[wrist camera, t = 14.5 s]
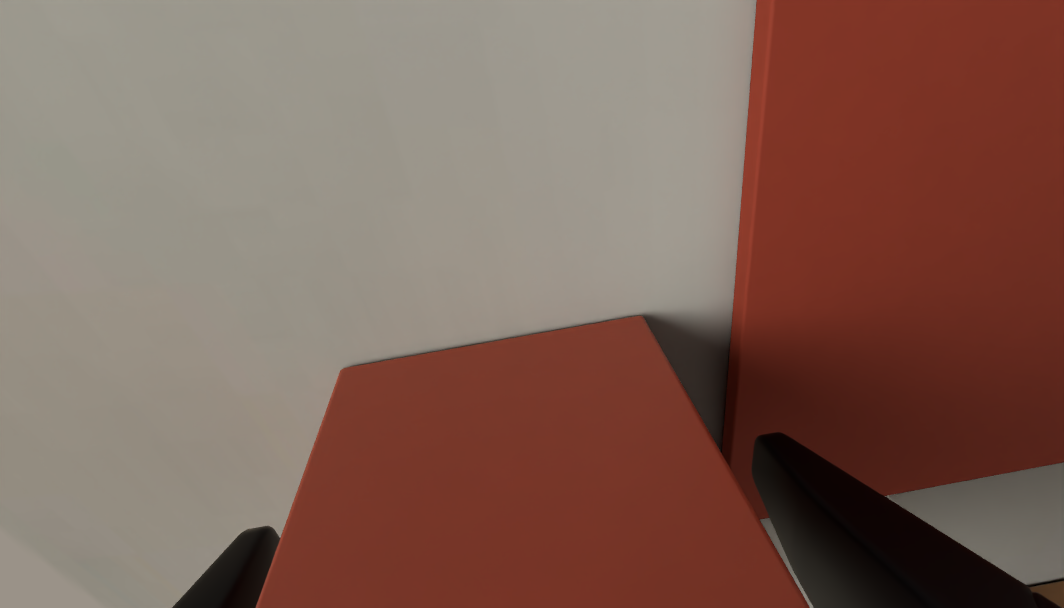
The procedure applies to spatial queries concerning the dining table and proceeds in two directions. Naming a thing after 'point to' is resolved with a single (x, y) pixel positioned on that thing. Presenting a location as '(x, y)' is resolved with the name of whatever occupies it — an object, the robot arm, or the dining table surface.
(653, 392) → the brick block
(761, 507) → the mat
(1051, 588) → the oak stand
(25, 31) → the dining table surface
